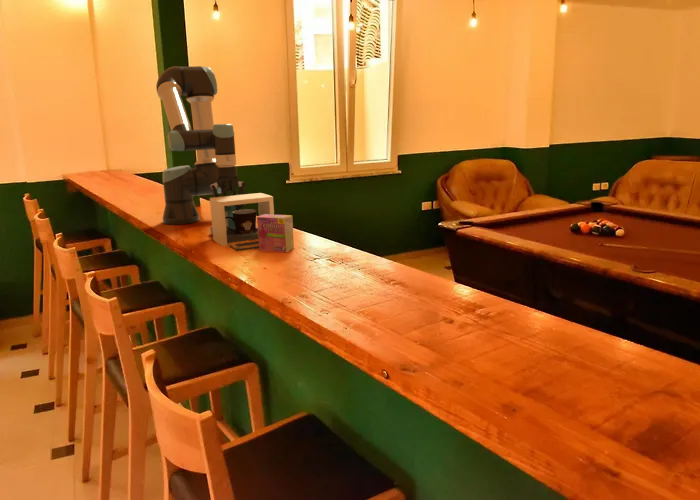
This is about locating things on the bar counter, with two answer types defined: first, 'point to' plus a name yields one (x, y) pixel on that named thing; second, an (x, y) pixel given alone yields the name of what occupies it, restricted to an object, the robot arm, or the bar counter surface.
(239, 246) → the dark slate tile
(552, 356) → the bar counter surface
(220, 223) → the tunnel
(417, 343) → the bar counter surface
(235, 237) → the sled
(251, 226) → the coffee mug
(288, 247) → the box
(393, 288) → the bar counter surface
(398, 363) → the bar counter surface
